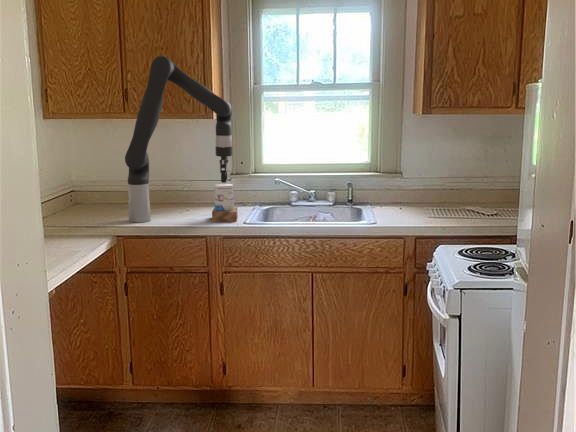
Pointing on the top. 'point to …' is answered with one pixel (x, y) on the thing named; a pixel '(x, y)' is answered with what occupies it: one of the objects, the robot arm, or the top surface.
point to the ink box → (224, 197)
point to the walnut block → (225, 215)
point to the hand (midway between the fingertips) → (224, 181)
